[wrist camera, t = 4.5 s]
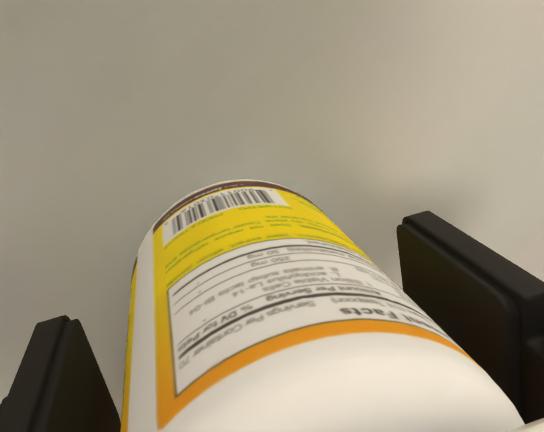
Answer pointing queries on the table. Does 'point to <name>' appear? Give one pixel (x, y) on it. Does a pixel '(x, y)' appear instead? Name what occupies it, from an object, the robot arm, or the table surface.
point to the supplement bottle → (285, 329)
